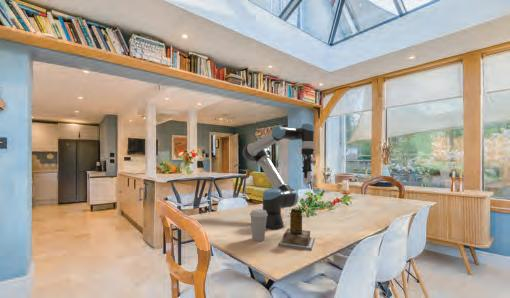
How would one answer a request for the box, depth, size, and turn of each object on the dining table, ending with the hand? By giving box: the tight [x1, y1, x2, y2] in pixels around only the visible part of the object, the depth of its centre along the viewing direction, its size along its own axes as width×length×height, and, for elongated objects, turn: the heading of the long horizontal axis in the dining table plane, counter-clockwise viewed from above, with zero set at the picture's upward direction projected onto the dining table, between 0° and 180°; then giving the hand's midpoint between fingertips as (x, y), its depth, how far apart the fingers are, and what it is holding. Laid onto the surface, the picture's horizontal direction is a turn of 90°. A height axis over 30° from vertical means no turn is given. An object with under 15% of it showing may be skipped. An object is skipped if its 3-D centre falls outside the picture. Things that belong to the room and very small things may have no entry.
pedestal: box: [282, 227, 311, 246], centre depth 121 cm, size 12×12×4 cm
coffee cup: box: [249, 208, 268, 243], centre depth 125 cm, size 10×10×15 cm
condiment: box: [288, 208, 308, 236], centre depth 121 cm, size 7×8×12 cm
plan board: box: [277, 236, 315, 251], centre depth 121 cm, size 16×16×1 cm
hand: (307, 182), depth 146 cm, fingers open, 13 cm apart
